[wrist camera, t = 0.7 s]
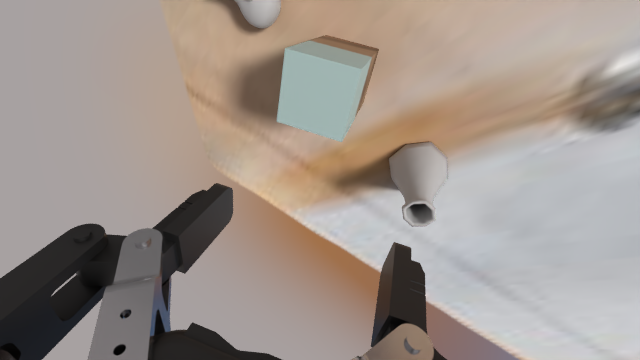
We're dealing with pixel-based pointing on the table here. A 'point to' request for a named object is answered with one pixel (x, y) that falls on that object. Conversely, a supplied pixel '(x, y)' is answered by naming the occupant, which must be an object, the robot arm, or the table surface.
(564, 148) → the table surface
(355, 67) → the tower top
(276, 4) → the mannequin head
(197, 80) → the table surface
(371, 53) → the tower bottom
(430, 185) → the flask
